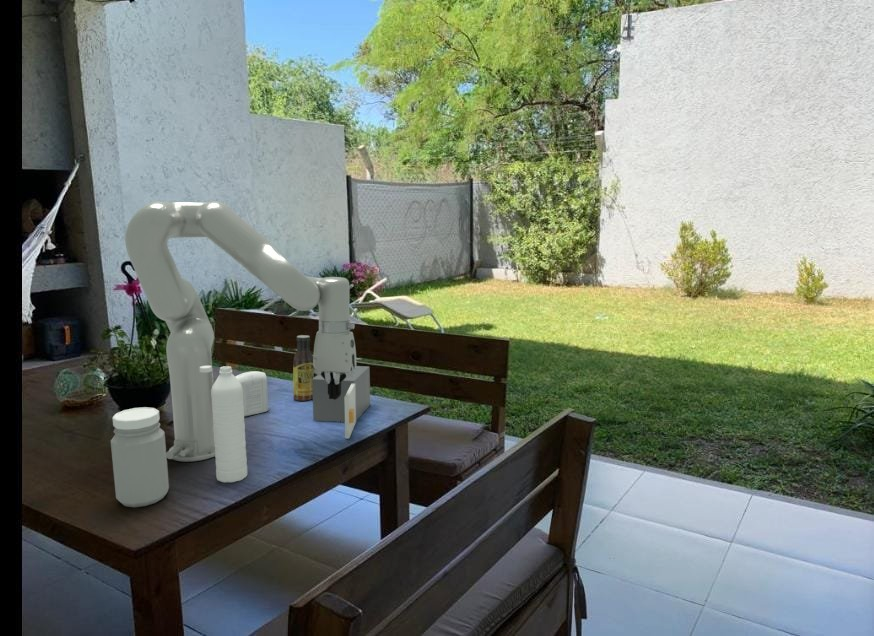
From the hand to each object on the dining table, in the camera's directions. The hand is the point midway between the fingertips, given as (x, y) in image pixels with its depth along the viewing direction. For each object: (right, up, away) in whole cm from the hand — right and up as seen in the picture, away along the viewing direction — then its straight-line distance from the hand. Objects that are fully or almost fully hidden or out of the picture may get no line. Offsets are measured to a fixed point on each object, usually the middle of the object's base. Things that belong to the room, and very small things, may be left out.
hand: (334, 397), depth 155 cm
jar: (-34, -17, -30) cm, 49 cm away
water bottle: (-20, -15, -21) cm, 32 cm away
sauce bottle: (-15, -5, +36) cm, 39 cm away
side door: (+4, -9, +7) cm, 12 cm away
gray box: (-1, -7, +22) cm, 24 cm away
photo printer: (-28, -8, +22) cm, 36 cm away
